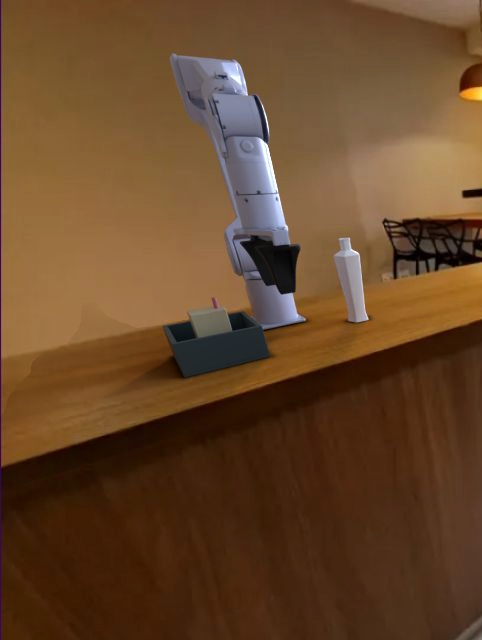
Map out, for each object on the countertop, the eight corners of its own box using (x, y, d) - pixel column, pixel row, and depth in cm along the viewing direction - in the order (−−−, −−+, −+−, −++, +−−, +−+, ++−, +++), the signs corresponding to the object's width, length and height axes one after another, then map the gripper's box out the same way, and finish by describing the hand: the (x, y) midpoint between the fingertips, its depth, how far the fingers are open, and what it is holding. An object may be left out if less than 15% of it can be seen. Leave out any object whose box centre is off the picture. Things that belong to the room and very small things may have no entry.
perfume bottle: (364, 323, 82) (349, 240, 76) (342, 322, 83) (327, 240, 77) (375, 316, 86) (363, 237, 80) (355, 315, 87) (341, 236, 81)
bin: (173, 356, 69) (162, 325, 67) (251, 339, 76) (243, 311, 73) (184, 377, 61) (172, 344, 59) (270, 356, 68) (261, 325, 66)
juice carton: (201, 354, 68) (182, 300, 64) (234, 347, 71) (217, 294, 67) (205, 360, 66) (186, 304, 62) (239, 352, 68) (222, 298, 65)
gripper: (214, 194, 65) (240, 285, 71) (237, 196, 55) (265, 302, 61) (265, 192, 69) (286, 278, 75) (295, 194, 59) (316, 293, 65)
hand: (280, 288), depth 68 cm, fingers open, 7 cm apart
